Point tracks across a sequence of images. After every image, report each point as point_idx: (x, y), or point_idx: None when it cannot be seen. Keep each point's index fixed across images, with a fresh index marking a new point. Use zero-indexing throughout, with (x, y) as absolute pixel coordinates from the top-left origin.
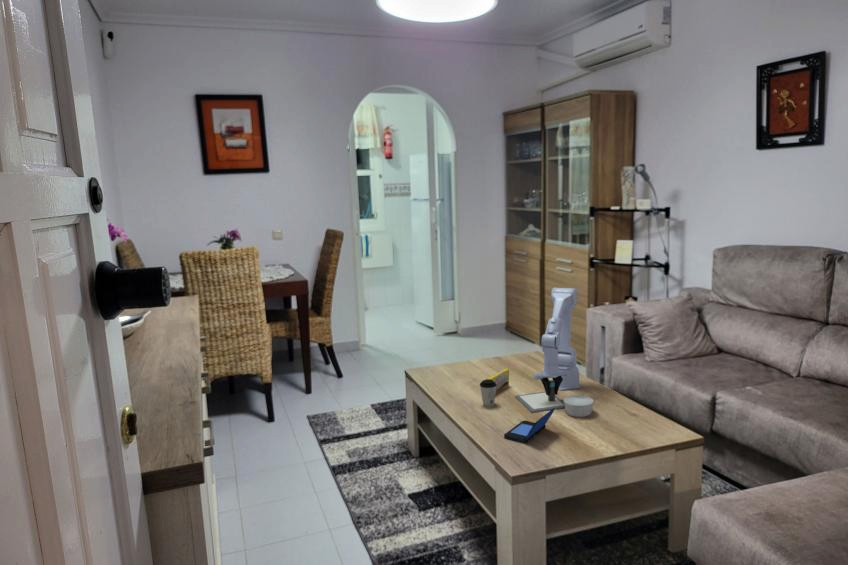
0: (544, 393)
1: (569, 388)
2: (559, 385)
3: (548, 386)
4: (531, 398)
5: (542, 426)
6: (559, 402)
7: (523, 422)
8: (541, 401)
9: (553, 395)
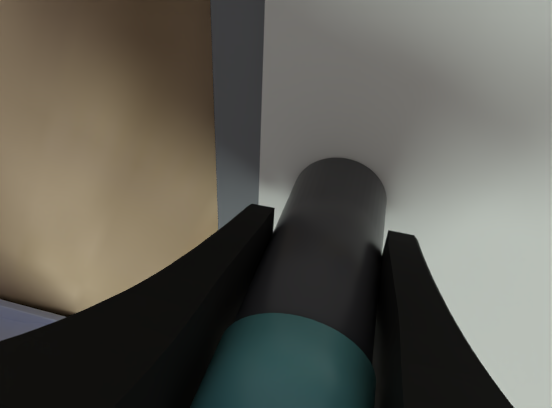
0: None
1: (51, 318)
2: (137, 289)
3: (443, 375)
4: (521, 350)
5: None
6: (285, 81)
7: None
8: (489, 231)
9: (323, 204)
